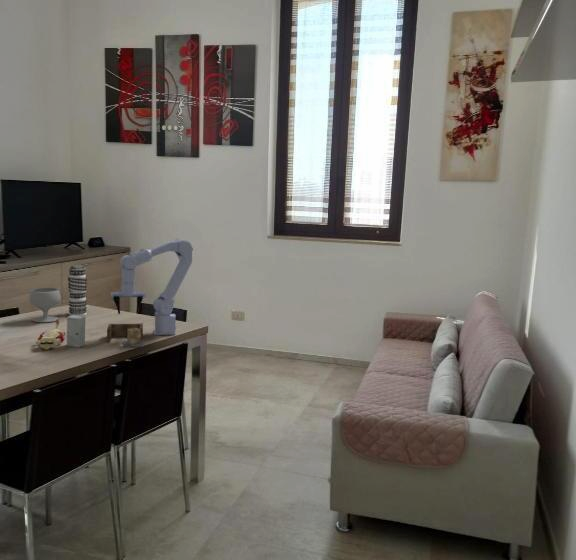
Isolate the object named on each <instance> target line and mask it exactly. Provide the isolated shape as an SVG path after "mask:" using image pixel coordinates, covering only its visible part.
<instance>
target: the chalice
mask: <svg viewBox="0 0 576 560" xmlns="http://www.w3.org/2000/svg"><path fill="white" fill-rule="evenodd" d="M61 298H62V297H61V293H60V290H59V289H58V288H56V287H37V288H33V289H31V291H30V293H29V297H28V300H29V301H28V302H29V303H30V304H31V305H32V306H34V307H36V308H38V309H40V310H41V311H42V312H43V315H42V316H38V317H33V318H32V319H31V321H32V322H33V323H52V322H56V319H59V320H60V318H59V316H58V317H57V316H51V315H49V314H48V313H49V310H51V309H52V308H54V307H55V306H57V305H59V304H60V302H61V301H62V299H61Z"/></svg>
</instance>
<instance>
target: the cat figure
mask: <svg viewBox="0 0 576 560" xmlns="http://www.w3.org/2000/svg"><path fill="white" fill-rule="evenodd" d="M59 326H60V318H59V319H56V321H55V328H54V329H53V328H52V330H50V331H49V332H47V330H45V331H43V332H42V333H40V334H39V336H38V338H37V341H35V344H36V345H40V346H39V347H40V348H41V349H43V348H44V350H50V349H53V348H56V347H58V345H61V344H62V343H64V341H65V335H66V332H65V330H64V329H59ZM45 332H47V335H46V336H44V335H45ZM57 338H59V339H57ZM56 344H57V345H56Z"/></svg>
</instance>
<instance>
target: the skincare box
mask: <svg viewBox="0 0 576 560" xmlns="http://www.w3.org/2000/svg"><path fill="white" fill-rule="evenodd" d="M85 339H86V316H84V315H83V316H76V315H72V316H71V315H69V316H67V317H66V346H67V347H75V348H81V347H83V346H85V343H86V340H85ZM80 346H81V347H80Z"/></svg>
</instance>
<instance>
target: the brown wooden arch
mask: <svg viewBox="0 0 576 560" xmlns="http://www.w3.org/2000/svg"><path fill="white" fill-rule="evenodd" d="M131 328H138V329H140V330H141V341H143V339H144V338H143V336H144V323H141V322H140V323H139V322H138V323H109V324H108V326H107V329H106V342H107V343H111V340H112V338H114V337H118V338H119V337H127V329H131Z"/></svg>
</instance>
